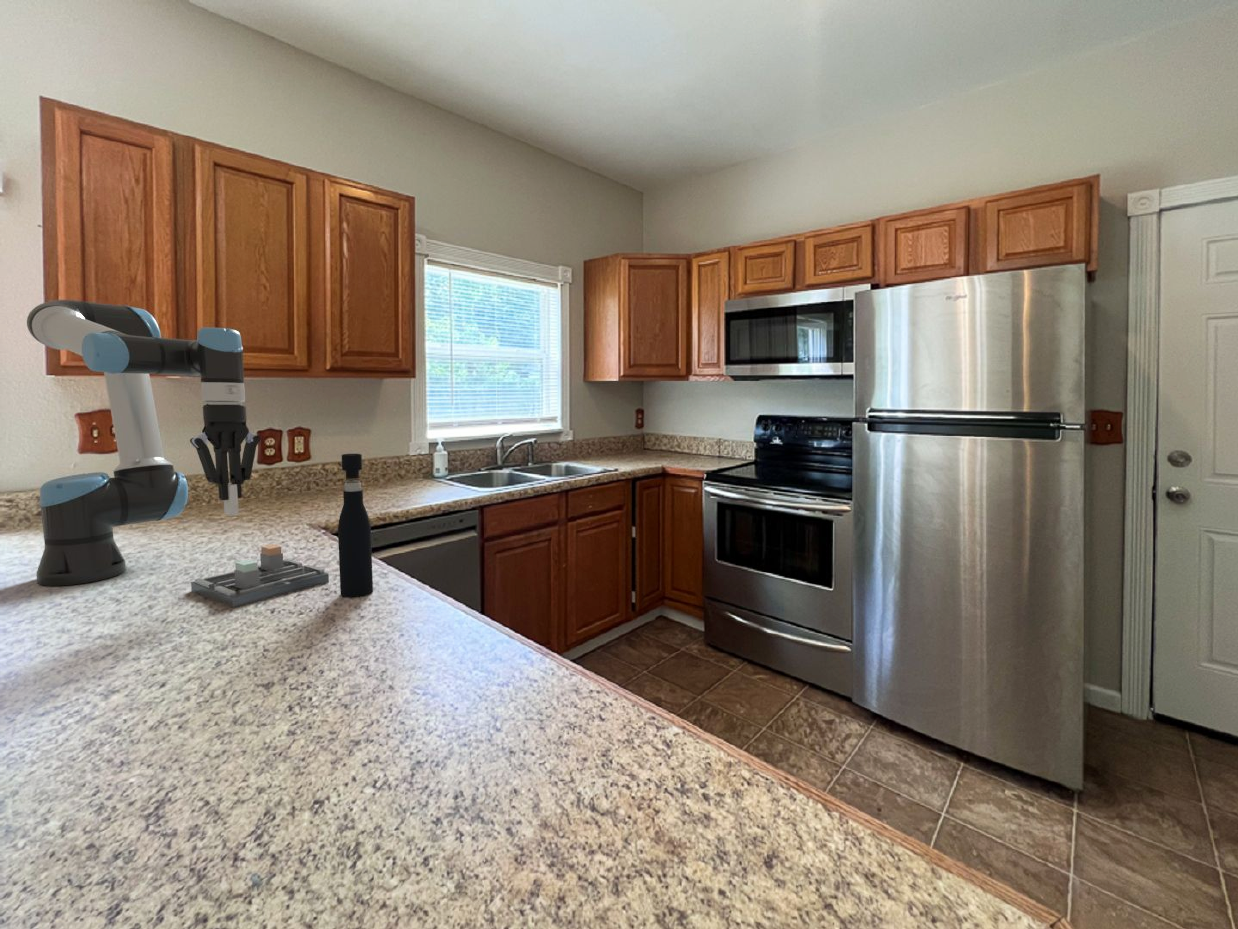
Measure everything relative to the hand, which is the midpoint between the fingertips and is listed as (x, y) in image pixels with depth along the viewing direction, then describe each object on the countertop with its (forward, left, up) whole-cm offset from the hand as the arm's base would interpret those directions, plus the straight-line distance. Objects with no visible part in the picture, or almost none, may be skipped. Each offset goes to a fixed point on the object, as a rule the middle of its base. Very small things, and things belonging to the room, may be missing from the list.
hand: (231, 514), depth 124 cm
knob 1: (+7, -1, -15) cm, 16 cm away
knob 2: (-2, +9, -15) cm, 17 cm away
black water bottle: (+23, +13, -17) cm, 32 cm away
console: (+2, +4, -17) cm, 17 cm away
